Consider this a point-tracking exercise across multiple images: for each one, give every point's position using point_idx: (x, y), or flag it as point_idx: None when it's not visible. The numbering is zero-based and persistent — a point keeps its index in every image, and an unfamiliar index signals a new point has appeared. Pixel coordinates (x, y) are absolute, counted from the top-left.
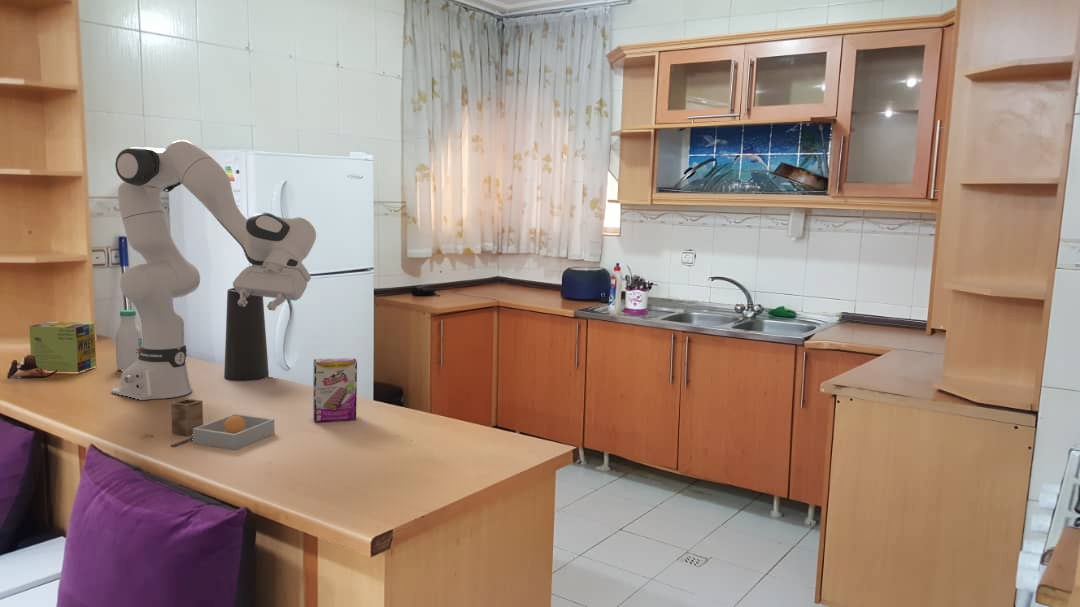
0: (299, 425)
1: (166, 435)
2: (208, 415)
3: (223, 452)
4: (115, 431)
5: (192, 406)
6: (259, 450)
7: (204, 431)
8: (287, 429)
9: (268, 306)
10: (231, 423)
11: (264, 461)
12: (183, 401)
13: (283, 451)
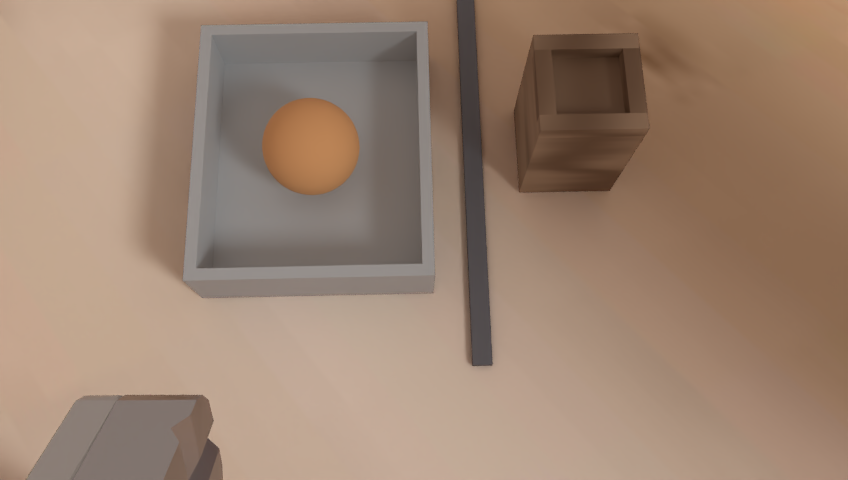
0: None
1: None
2: (705, 399)
3: None
4: (826, 43)
5: (534, 73)
6: (124, 94)
7: (363, 25)
8: (183, 377)
9: (167, 398)
10: (293, 101)
11: (32, 11)
12: (626, 94)
13: (25, 122)
